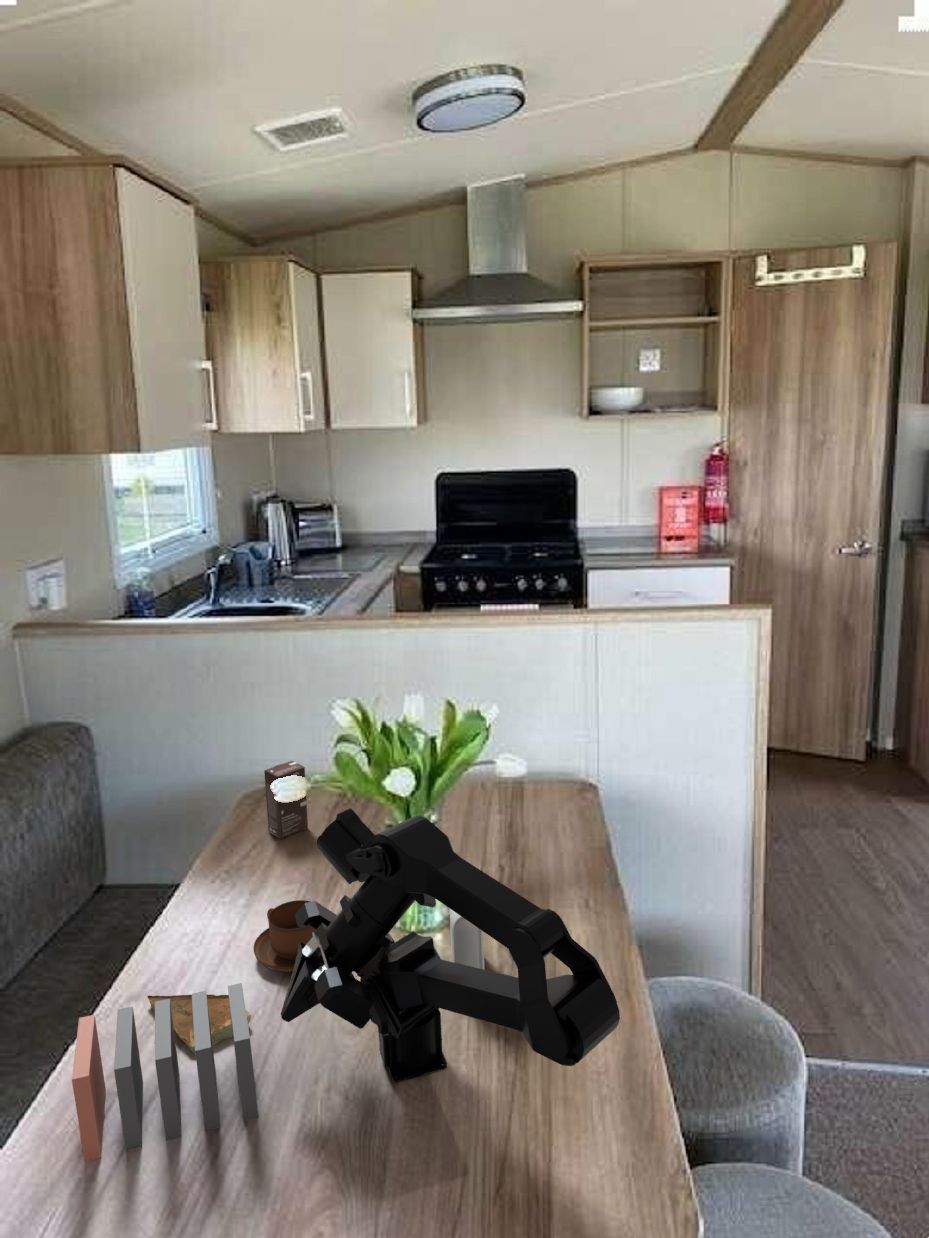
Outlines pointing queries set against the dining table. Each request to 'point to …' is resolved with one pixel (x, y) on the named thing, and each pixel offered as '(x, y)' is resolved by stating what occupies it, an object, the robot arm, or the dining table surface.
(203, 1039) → the domino
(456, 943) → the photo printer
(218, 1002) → the shard
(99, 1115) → the domino
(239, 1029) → the domino
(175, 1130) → the domino
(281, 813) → the box
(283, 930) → the cup and saucer
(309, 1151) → the dining table surface
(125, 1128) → the domino
